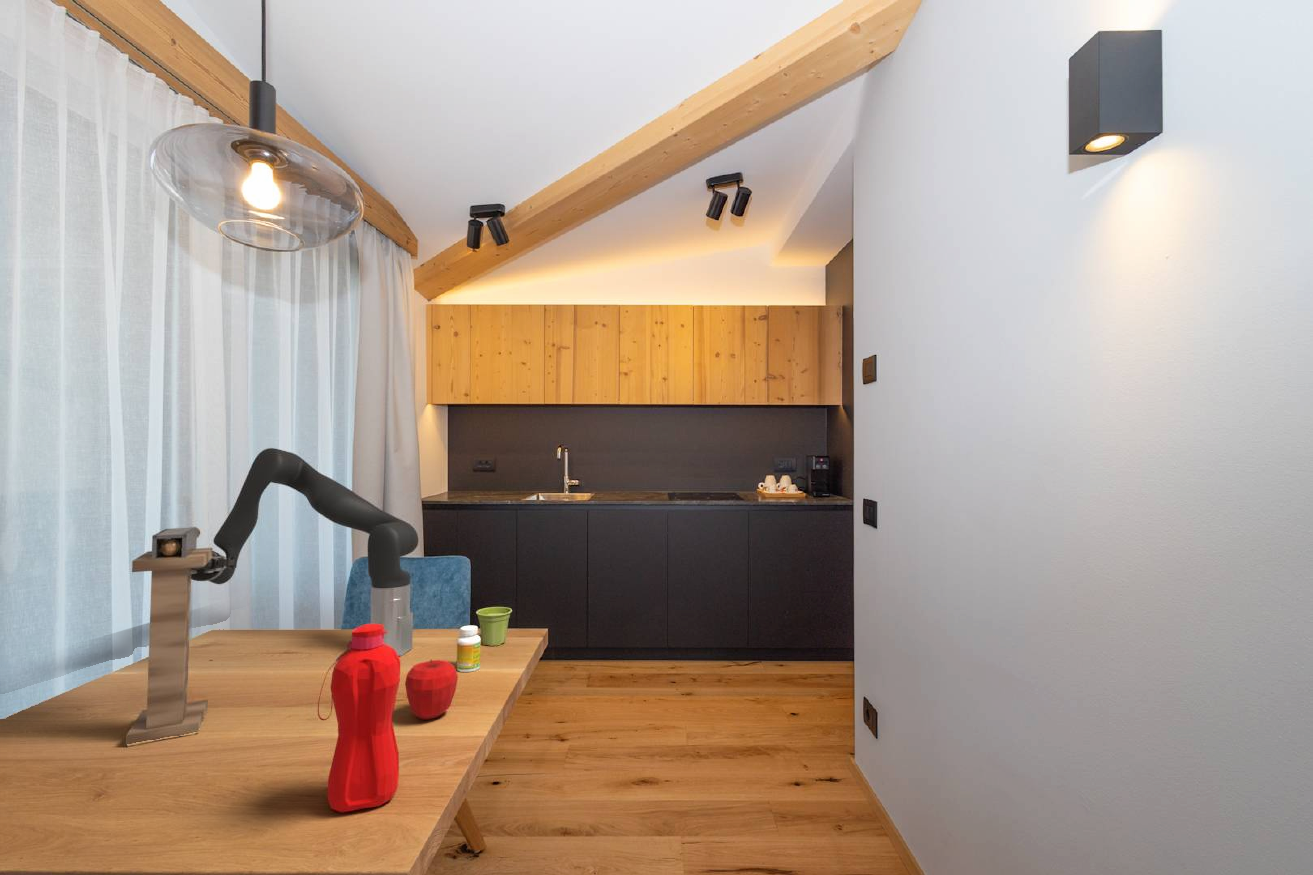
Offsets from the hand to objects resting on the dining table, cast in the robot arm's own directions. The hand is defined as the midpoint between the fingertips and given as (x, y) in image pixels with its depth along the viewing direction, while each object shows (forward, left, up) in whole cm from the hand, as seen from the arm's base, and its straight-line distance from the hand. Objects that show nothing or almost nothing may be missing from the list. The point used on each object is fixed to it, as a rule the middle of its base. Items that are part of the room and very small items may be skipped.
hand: (196, 563), depth 134 cm
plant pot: (-57, -33, -26) cm, 71 cm away
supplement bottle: (-58, -13, -26) cm, 65 cm away
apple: (-61, +13, -26) cm, 68 cm away
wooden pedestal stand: (-15, +22, -26) cm, 37 cm away
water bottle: (-63, +41, -26) cm, 80 cm away
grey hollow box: (-15, +22, +6) cm, 27 cm away
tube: (-11, +16, +6) cm, 20 cm away
